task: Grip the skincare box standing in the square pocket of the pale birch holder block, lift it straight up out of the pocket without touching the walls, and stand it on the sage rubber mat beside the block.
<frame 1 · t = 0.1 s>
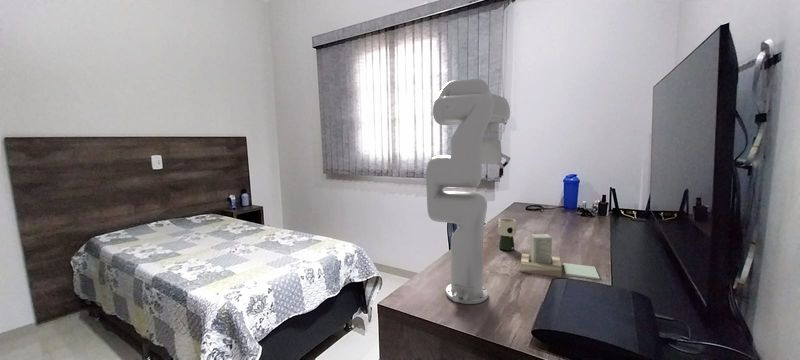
hand: (488, 177, 132), 31 cm above the table, tool pointing down, fingers open, 9 cm apart
skincare box: (540, 268, 114), resting in holder block
holder block: (540, 267, 114), on the table
sage mat: (580, 271, 110), on the table
character mug: (506, 249, 134), on the table
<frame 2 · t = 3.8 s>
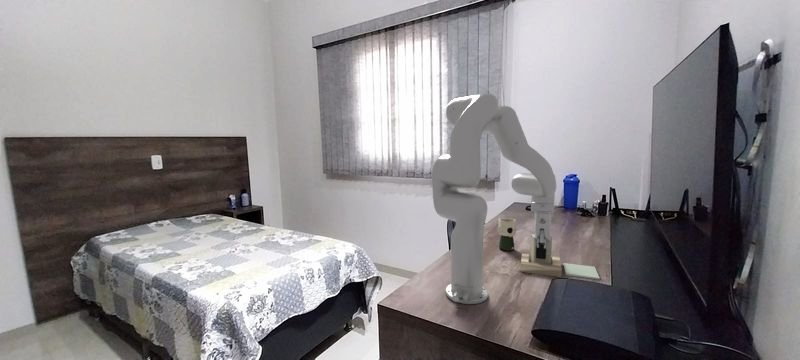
hand: (540, 255, 113), 5 cm above the table, tool pointing down, fingers closed on skincare box, 5 cm apart
skincare box: (540, 268, 114), resting in holder block, touching gripper
everything else where it was.
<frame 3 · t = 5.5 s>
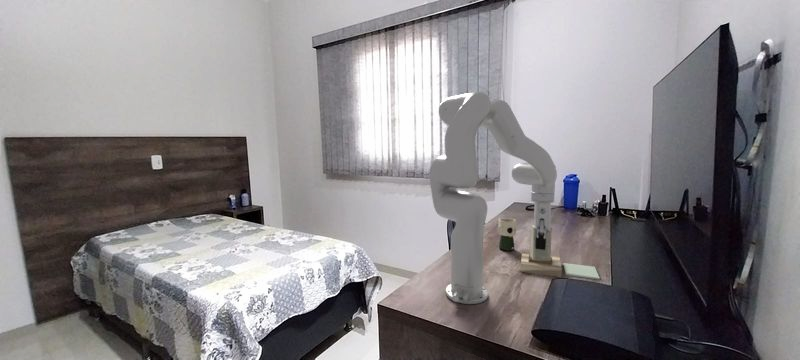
hand: (540, 246, 113), 8 cm above the table, tool pointing down, fingers closed on skincare box, 5 cm apart
skincare box: (539, 259, 113), point 3 cm above the table, touching gripper
everything else where it was.
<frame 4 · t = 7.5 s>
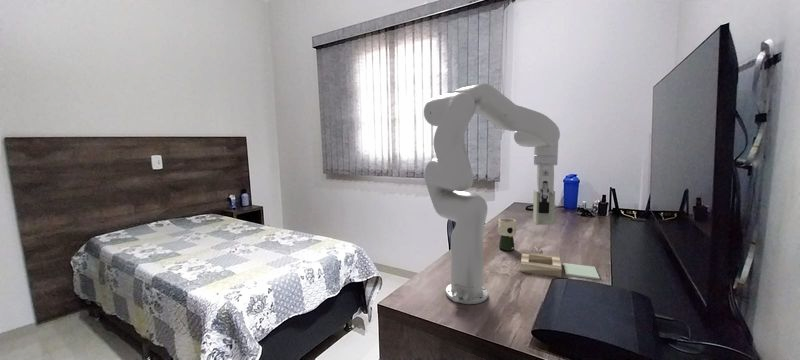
hand: (543, 210, 111), 21 cm above the table, tool pointing down, fingers closed on skincare box, 5 cm apart
skincare box: (543, 224, 112), point 16 cm above the table, touching gripper
everything else where it was.
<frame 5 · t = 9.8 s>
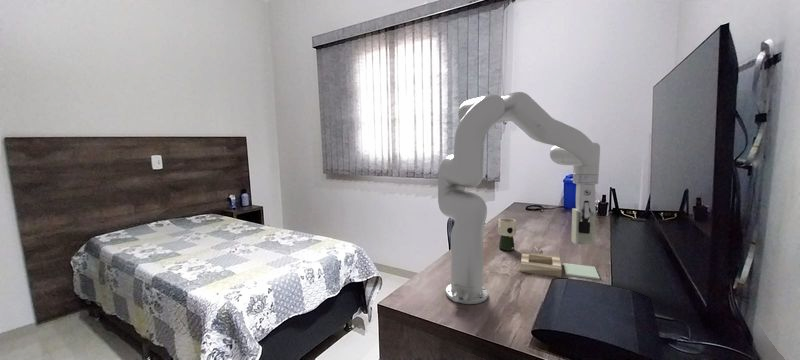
hand: (582, 230, 108), 15 cm above the table, tool pointing down, fingers closed on skincare box, 5 cm apart
skincare box: (582, 243, 108), point 10 cm above the table, touching gripper
everything else where it was.
when the fingers open (7 cm above the table, at t = 11.6 s): skincare box drops 1 cm, resting on sage mat.
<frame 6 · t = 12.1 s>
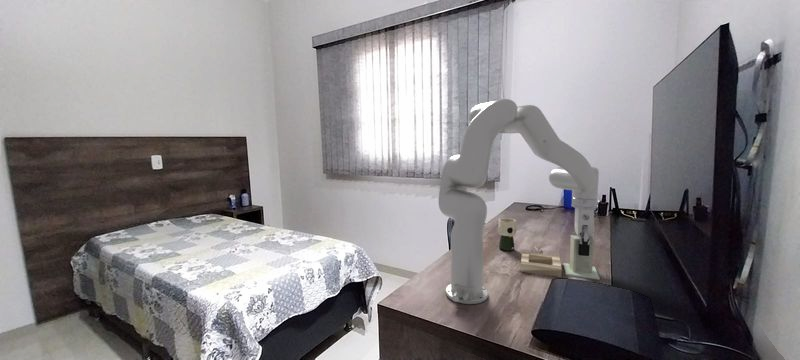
hand: (581, 250, 109), 8 cm above the table, tool pointing down, fingers open, 9 cm apart
skincare box: (580, 270, 110), resting on sage mat
everything else where it was.
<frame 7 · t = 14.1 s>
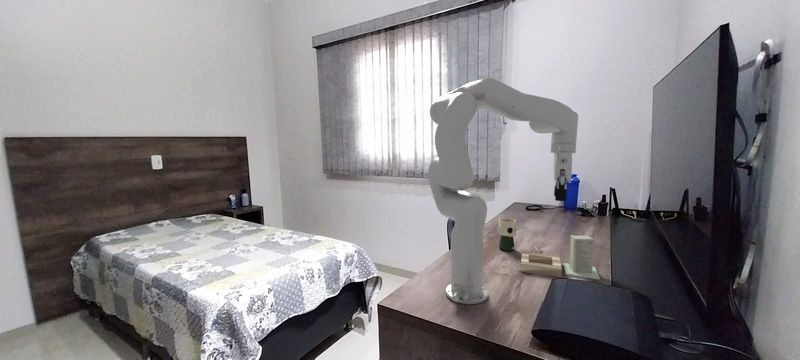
hand: (559, 198, 107), 26 cm above the table, tool pointing down, fingers open, 9 cm apart
nothing on the table moved.
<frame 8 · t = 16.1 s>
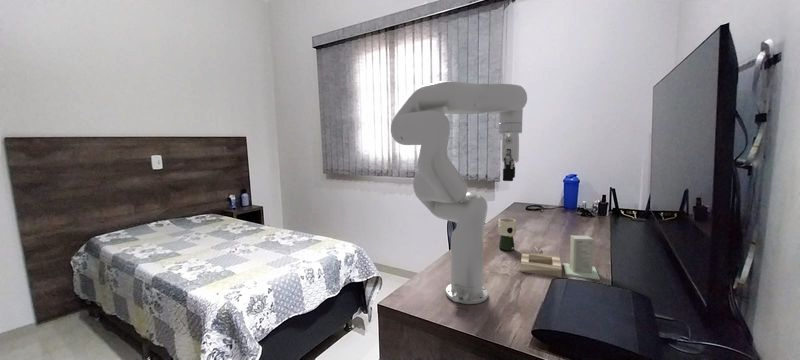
hand: (509, 179, 107), 33 cm above the table, tool pointing down, fingers open, 9 cm apart
nothing on the table moved.
at the end: skincare box inside the target area (0.3 cm from its centre), resting on sage mat; skincare box tilted 0°; the gripper is holding nothing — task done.
